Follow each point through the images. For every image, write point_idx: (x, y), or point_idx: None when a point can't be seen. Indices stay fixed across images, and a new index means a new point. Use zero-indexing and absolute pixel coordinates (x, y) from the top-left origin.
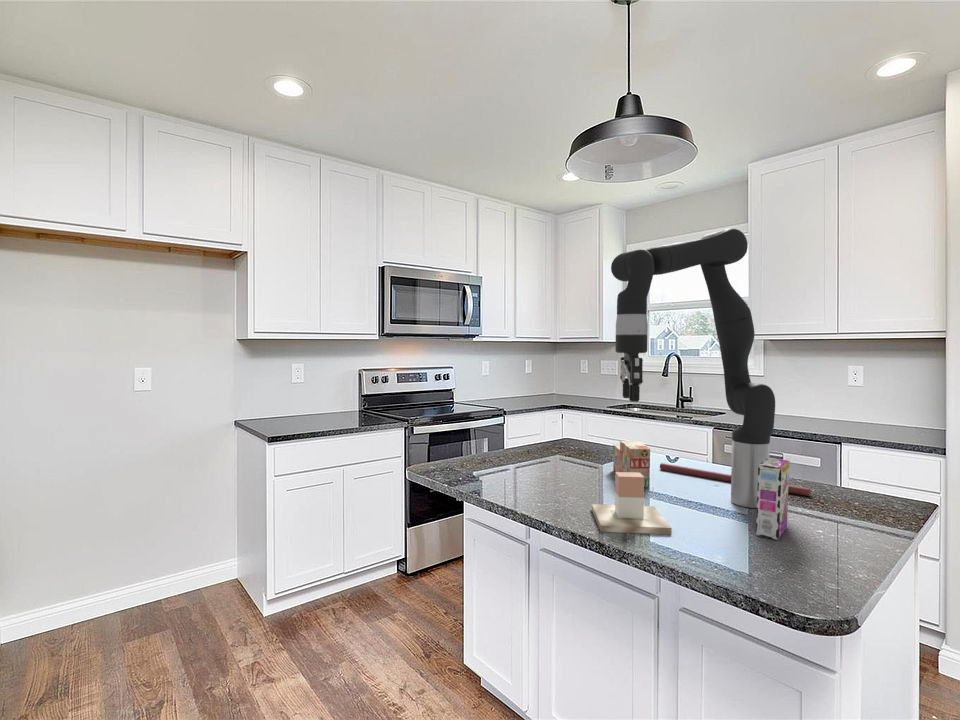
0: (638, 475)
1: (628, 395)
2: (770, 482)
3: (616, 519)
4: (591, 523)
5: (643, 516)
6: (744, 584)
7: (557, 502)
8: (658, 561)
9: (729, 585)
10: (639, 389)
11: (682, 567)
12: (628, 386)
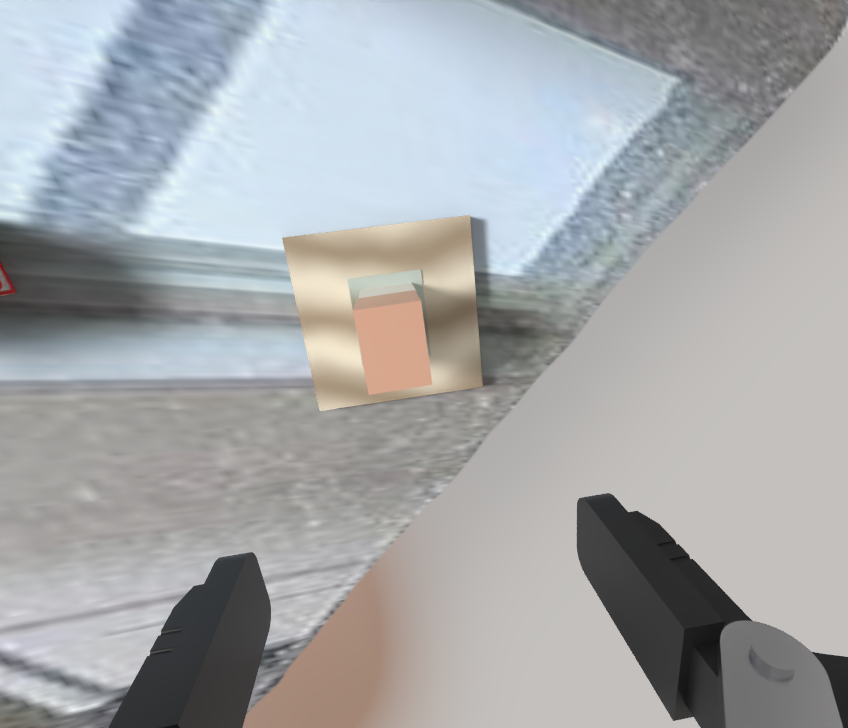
0: (400, 318)
1: (253, 594)
2: None
3: (432, 351)
4: (426, 402)
5: (411, 283)
6: (728, 108)
7: (283, 487)
8: (628, 270)
9: (731, 144)
10: (687, 580)
11: (654, 225)
12: (211, 707)
